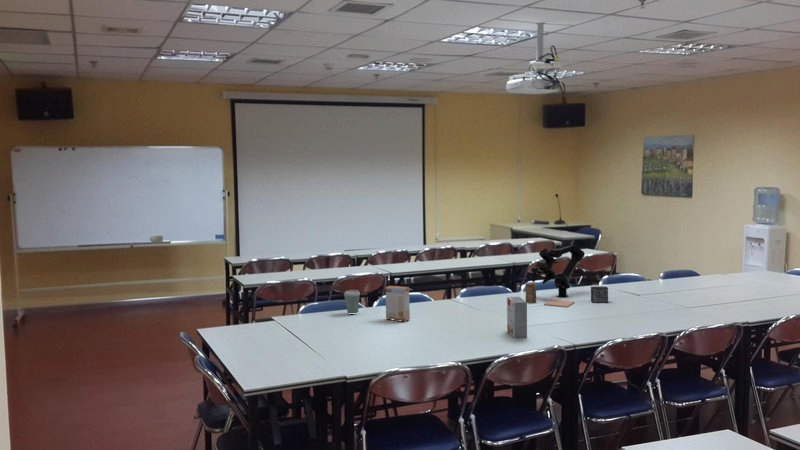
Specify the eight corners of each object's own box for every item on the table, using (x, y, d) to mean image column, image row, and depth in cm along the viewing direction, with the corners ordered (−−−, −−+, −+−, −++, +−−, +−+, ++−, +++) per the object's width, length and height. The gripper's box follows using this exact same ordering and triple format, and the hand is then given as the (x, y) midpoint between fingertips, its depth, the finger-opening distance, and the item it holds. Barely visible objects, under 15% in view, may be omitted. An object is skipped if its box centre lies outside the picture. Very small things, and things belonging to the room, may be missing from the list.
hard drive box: (506, 331, 369) (506, 296, 368) (519, 330, 370) (519, 296, 368) (513, 338, 354) (513, 302, 352) (527, 337, 355) (527, 301, 353)
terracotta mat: (551, 300, 450) (551, 299, 450) (574, 303, 441) (574, 301, 441) (544, 305, 436) (544, 303, 436) (567, 307, 428) (567, 306, 428)
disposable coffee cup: (358, 316, 413) (357, 293, 412) (342, 315, 415) (341, 292, 414) (362, 312, 423) (362, 289, 422) (346, 312, 426) (346, 289, 424)
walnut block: (530, 301, 449) (530, 282, 448) (536, 302, 445) (536, 283, 444) (525, 302, 446) (525, 283, 445) (531, 303, 442) (531, 284, 441)
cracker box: (410, 320, 400) (409, 286, 398) (405, 322, 394) (404, 288, 393) (390, 318, 407) (390, 285, 405) (385, 320, 402) (385, 286, 400)
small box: (606, 301, 446) (606, 286, 445) (608, 303, 440) (608, 287, 439) (590, 301, 447) (590, 286, 447) (592, 303, 441) (592, 287, 440)
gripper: (532, 256, 458) (521, 274, 453) (552, 259, 443) (542, 277, 438) (540, 265, 463) (530, 283, 458) (560, 268, 448) (550, 287, 443)
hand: (537, 282), depth 449 cm, fingers open, 9 cm apart
